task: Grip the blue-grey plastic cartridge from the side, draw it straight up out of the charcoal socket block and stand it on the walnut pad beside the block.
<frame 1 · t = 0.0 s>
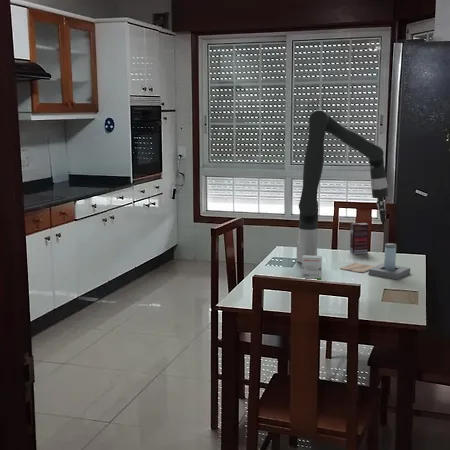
hand: (382, 220, 303), 22 cm above the table, tool pointing down, fingers open, 8 cm apart
ink box: (311, 282, 278), on the table
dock: (389, 273, 291), on the table
pad: (358, 268, 301), on the table
supplement box: (358, 253, 333), on the table
cartridge: (390, 259, 290), in the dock
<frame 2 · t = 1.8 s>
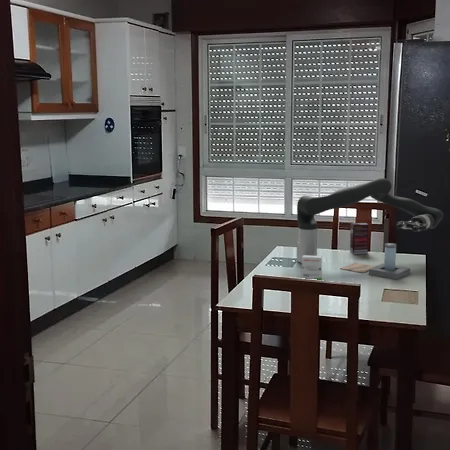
hand: (405, 228, 298), 19 cm above the table, tool horizontal, fingers open, 8 cm apart
nothing on the table moved.
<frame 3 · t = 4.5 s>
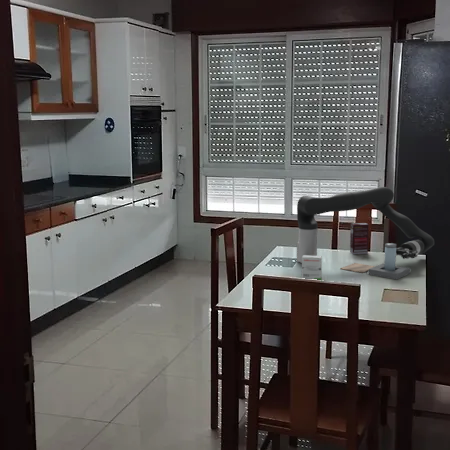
hand: (394, 255, 293), 8 cm above the table, tool horizontal, fingers open, 8 cm apart
nothing on the table moved.
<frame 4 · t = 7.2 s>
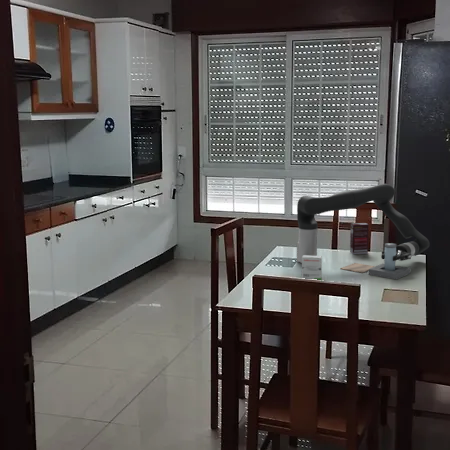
hand: (388, 257, 288), 8 cm above the table, tool horizontal, fingers closed on cartridge, 5 cm apart
cartridge: (390, 259, 290), in the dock, touching gripper
everything else where it was.
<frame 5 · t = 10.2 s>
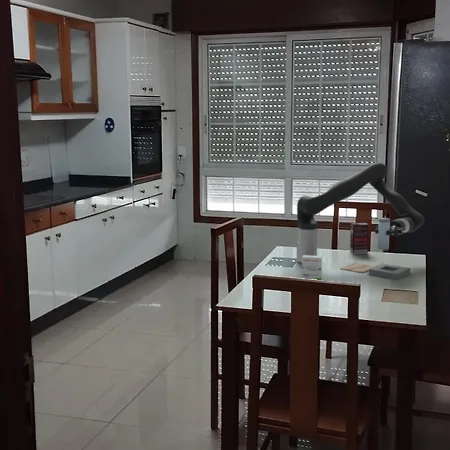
hand: (381, 232, 288), 20 cm above the table, tool horizontal, fingers closed on cartridge, 5 cm apart
cartridge: (383, 233, 289), point 19 cm above the table, touching gripper
everything else where it was.
when the fingers open (10 cm above the table, at t = 13.7 s): cartridge drops 1 cm, resting on pad.
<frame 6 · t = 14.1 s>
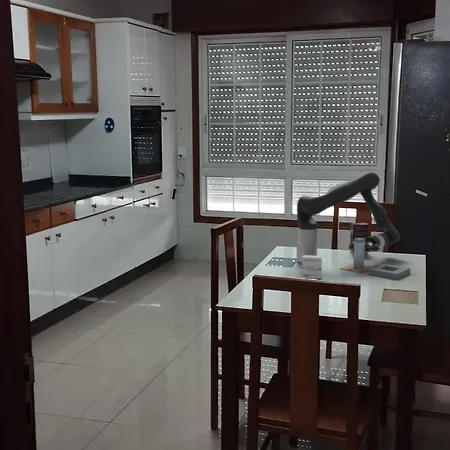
hand: (357, 248, 298), 10 cm above the table, tool horizontal, fingers open, 8 cm apart
cartridge: (359, 253, 300), on the pad
everything else where it was.
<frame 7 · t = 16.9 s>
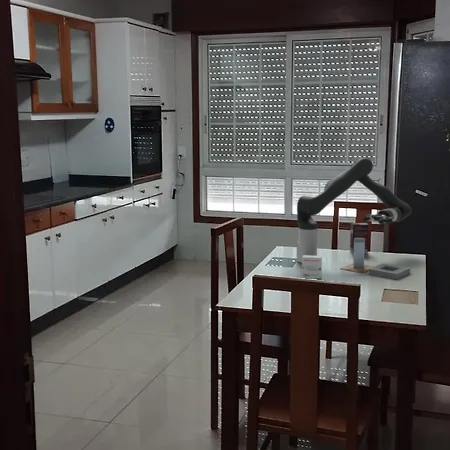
hand: (371, 220, 306), 22 cm above the table, tool horizontal, fingers open, 8 cm apart
nothing on the table moved.
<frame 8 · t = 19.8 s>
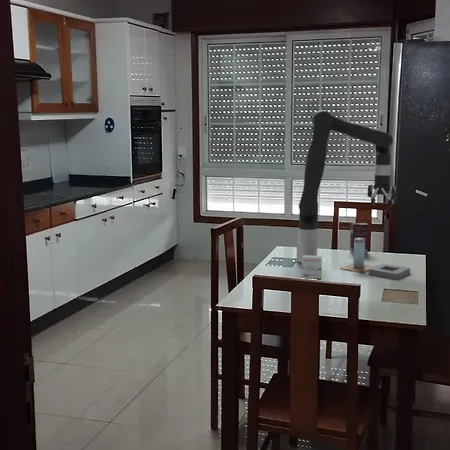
hand: (381, 206, 307), 28 cm above the table, tool pointing down, fingers open, 8 cm apart
nothing on the table moved.
at the end: cartridge inside the target area on the pad (0.1 cm from its centre), point 7.5 cm above the pad's base; cartridge tilted 1°; the gripper is holding nothing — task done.
